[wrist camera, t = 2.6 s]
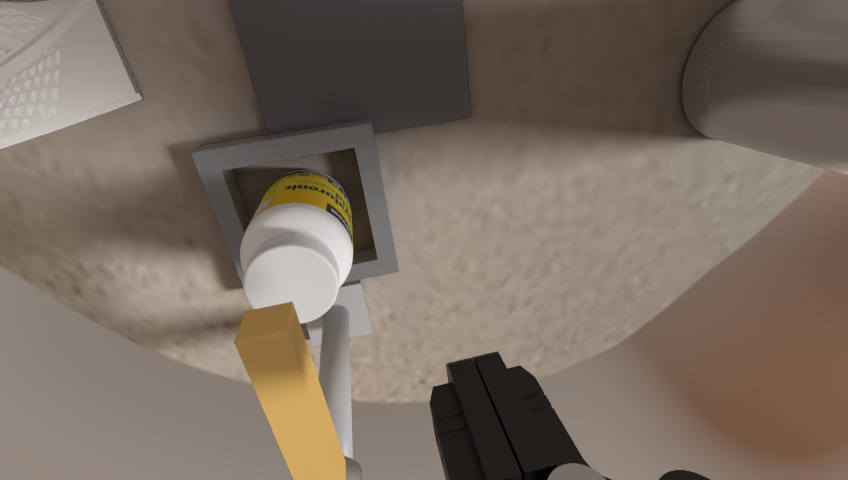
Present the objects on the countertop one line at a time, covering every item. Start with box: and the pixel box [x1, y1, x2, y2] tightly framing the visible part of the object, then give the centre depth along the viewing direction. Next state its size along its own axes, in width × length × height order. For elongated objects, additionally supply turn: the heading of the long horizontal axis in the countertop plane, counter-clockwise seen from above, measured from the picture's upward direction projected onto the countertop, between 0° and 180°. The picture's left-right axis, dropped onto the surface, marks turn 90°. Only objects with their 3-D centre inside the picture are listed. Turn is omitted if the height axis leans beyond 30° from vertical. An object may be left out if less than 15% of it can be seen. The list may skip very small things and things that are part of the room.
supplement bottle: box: [240, 170, 353, 324], centre depth 22 cm, size 5×5×10 cm
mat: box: [228, 0, 471, 135], centre depth 22 cm, size 12×12×1 cm
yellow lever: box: [234, 301, 362, 480], centre depth 16 cm, size 11×3×2 cm, turn 8°
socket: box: [191, 119, 399, 459], centre depth 22 cm, size 10×15×13 cm, turn 8°
